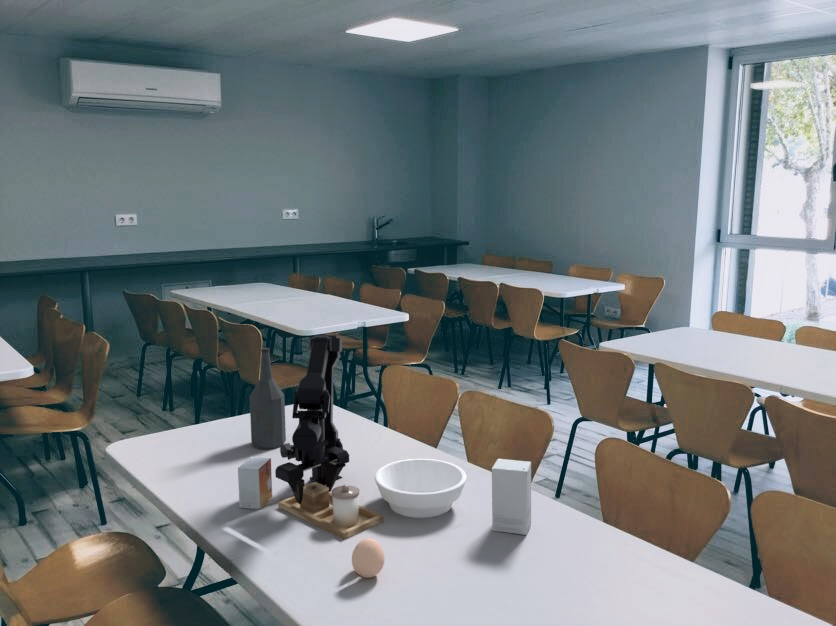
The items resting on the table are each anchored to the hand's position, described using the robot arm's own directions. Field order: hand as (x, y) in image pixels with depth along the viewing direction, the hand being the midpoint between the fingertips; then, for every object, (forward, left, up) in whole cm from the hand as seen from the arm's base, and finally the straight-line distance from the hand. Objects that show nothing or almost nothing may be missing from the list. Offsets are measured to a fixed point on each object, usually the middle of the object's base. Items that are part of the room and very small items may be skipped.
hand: (314, 497), depth 179 cm
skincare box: (-25, +41, -4) cm, 48 cm away
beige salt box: (0, 0, -2) cm, 3 cm away
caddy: (0, +6, -3) cm, 7 cm away
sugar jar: (0, +12, -2) cm, 12 cm away
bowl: (-19, +18, -4) cm, 26 cm away
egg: (+12, +32, -4) cm, 34 cm away
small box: (+7, -14, -4) cm, 16 cm away
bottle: (-20, -46, -4) cm, 50 cm away
